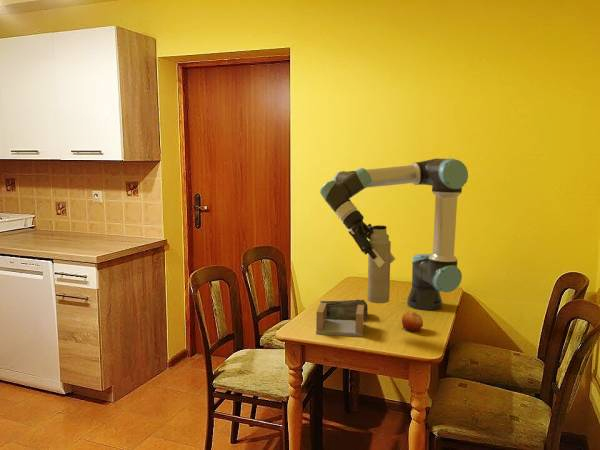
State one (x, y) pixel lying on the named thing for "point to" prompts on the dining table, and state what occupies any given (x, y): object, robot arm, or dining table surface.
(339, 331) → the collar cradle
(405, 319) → the fruit
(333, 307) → the beverage carton
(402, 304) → the dining table surface
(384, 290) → the thermos bottle
